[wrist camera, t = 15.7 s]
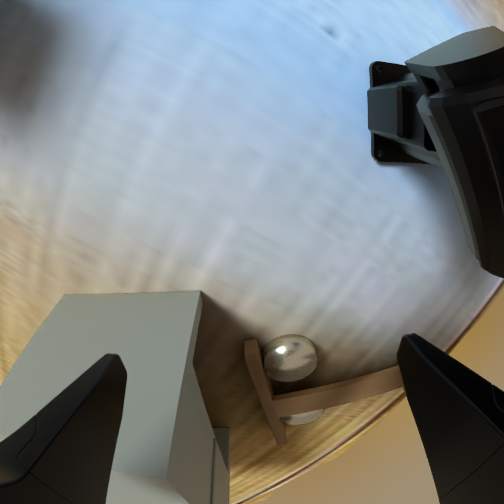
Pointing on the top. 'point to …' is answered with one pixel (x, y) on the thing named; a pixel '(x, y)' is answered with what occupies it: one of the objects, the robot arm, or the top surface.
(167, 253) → the top surface
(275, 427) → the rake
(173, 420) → the cabinet
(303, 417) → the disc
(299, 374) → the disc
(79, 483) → the robot arm
